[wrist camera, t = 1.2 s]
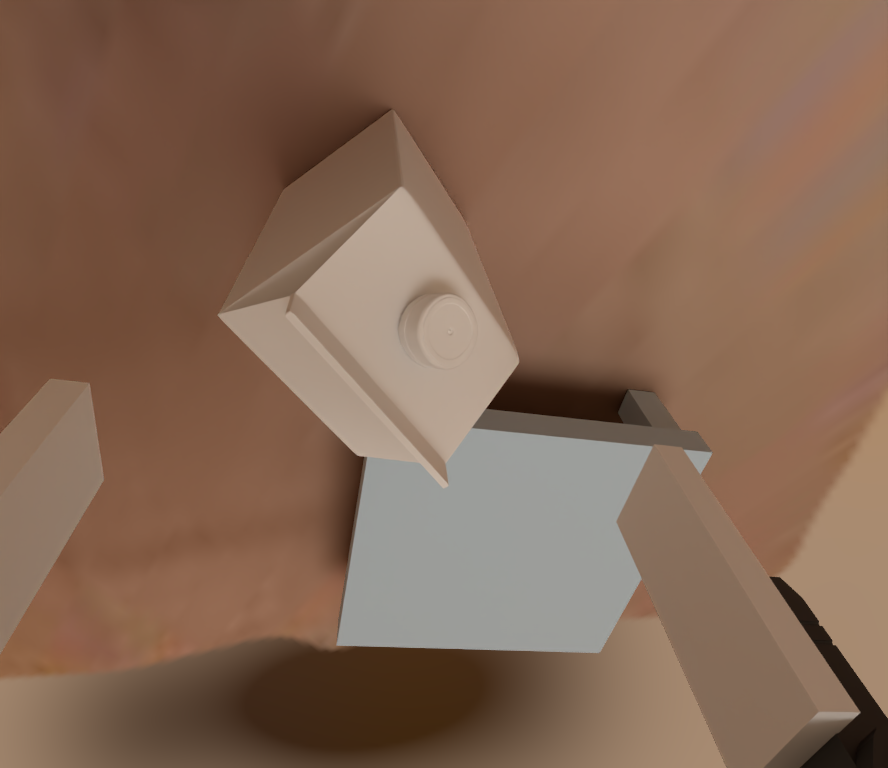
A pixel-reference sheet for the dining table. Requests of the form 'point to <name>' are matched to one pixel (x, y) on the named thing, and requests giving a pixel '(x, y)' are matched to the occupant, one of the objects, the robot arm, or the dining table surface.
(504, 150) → the dining table surface
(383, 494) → the grey square footed tray
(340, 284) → the milk carton
